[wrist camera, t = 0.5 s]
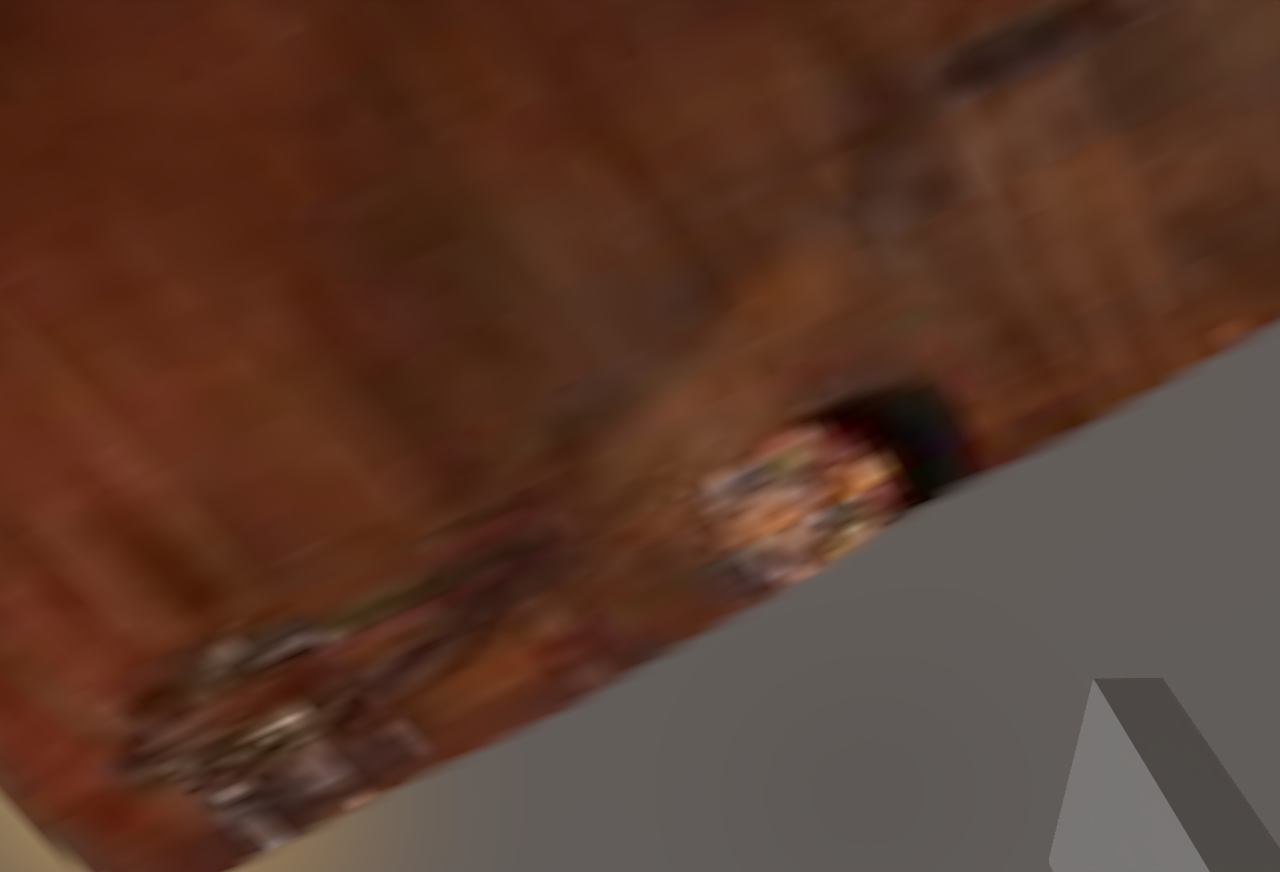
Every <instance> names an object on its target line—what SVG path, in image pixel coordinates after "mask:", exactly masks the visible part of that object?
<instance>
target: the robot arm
mask: <svg viewBox="0 0 1280 872" xmlns="http://www.w3.org/2000/svg"><path fill="white" fill-rule="evenodd" d="M1049 864H1050V866H1051V869H1052V870H1053V872H1280V848H1279V846H1278V845H1277V844H1276V842H1275V841H1274V839H1273V838H1272V836H1271V835H1270V833H1269V832H1268V830H1267V829H1266V828H1265V826H1264V825H1263V823H1262V822H1261V820H1260V819H1259V817H1258V816H1257V815H1256V813H1255V812H1254V811H1253V809H1252V807H1251V806H1250V804H1249V803H1248V801H1247V800H1246V799H1245V797H1244V796H1243V794H1242V793H1241V791H1240V790H1239V788H1238V787H1237V785H1236V784H1235V783H1234V781H1233V780H1232V778H1231V777H1230V775H1229V774H1228V772H1227V771H1226V769H1225V768H1224V767H1223V765H1222V764H1221V762H1220V761H1219V759H1218V758H1217V756H1216V755H1215V753H1214V752H1213V751H1212V749H1211V748H1210V746H1209V745H1208V743H1207V742H1206V740H1205V739H1204V737H1203V736H1202V735H1201V733H1200V732H1199V730H1198V729H1197V727H1196V726H1195V724H1194V723H1193V722H1192V720H1191V719H1190V717H1189V716H1188V714H1187V713H1186V711H1185V710H1184V708H1183V707H1182V705H1181V704H1180V703H1179V701H1178V700H1177V698H1176V697H1175V695H1174V694H1173V693H1172V691H1171V690H1170V688H1169V687H1168V685H1167V684H1166V682H1165V681H1164V679H1163V678H1121V679H1120V678H1119V679H1118V678H1117V679H1115V678H1114V679H1093V683H1092V687H1091V691H1090V695H1089V699H1088V703H1087V707H1086V711H1085V715H1084V719H1083V723H1082V727H1081V731H1080V735H1079V739H1078V744H1077V748H1076V752H1075V756H1074V760H1073V764H1072V768H1071V772H1070V776H1069V781H1068V784H1067V788H1066V792H1065V797H1064V801H1063V805H1062V809H1061V813H1060V817H1059V821H1058V825H1057V829H1056V833H1055V837H1054V841H1053V845H1052V850H1051V854H1050V858H1049Z"/></svg>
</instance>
